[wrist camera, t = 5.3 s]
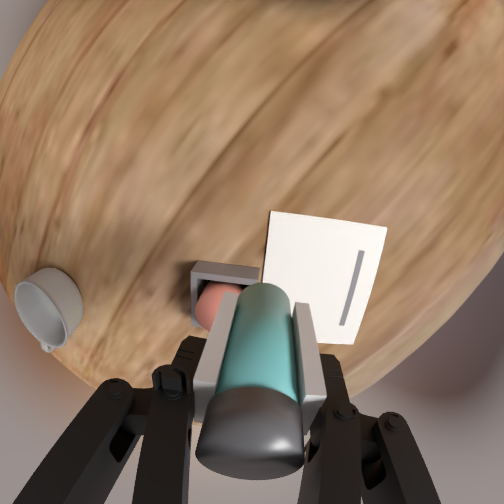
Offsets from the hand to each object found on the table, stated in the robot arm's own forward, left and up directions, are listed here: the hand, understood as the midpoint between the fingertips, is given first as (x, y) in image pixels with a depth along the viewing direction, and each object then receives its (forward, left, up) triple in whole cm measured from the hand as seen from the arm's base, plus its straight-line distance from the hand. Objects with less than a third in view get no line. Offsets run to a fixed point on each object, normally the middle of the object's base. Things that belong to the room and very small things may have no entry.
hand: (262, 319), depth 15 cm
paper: (+5, +6, -15) cm, 17 cm away
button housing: (+7, -4, -15) cm, 17 cm away
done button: (+7, -4, -14) cm, 16 cm away
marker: (0, 0, -1) cm, 1 cm away
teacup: (+13, -30, -15) cm, 37 cm away
